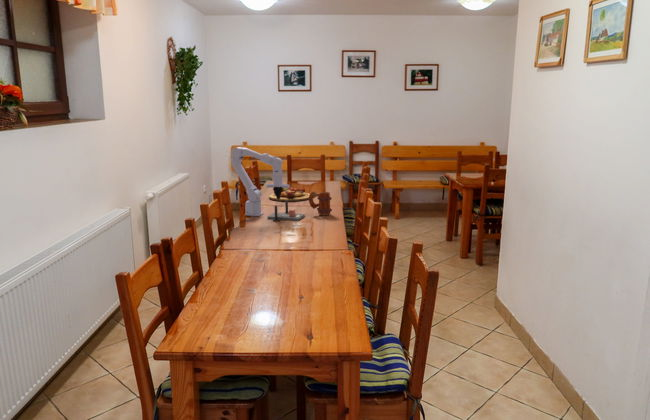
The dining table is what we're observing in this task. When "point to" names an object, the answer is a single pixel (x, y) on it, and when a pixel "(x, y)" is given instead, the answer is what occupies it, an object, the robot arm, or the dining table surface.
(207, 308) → the dining table surface
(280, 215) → the breaker panel
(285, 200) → the post
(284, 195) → the wooden plate with food
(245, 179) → the robot arm
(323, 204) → the mug
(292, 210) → the knob
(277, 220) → the post
